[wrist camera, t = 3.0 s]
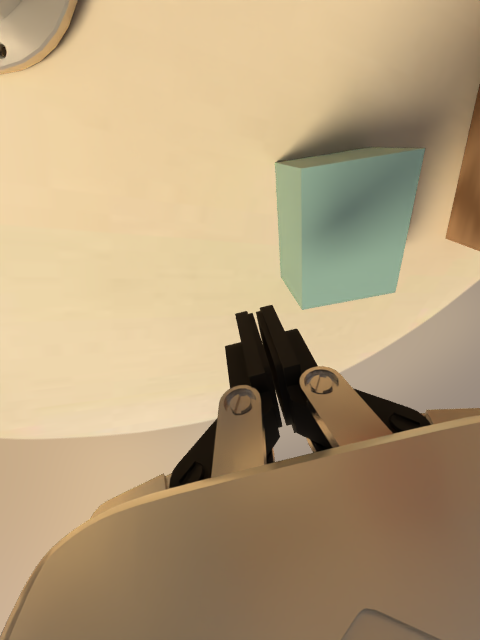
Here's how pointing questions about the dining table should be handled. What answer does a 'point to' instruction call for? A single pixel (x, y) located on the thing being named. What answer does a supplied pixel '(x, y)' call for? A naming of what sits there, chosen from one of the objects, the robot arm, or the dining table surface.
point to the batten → (468, 190)
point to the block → (345, 222)
